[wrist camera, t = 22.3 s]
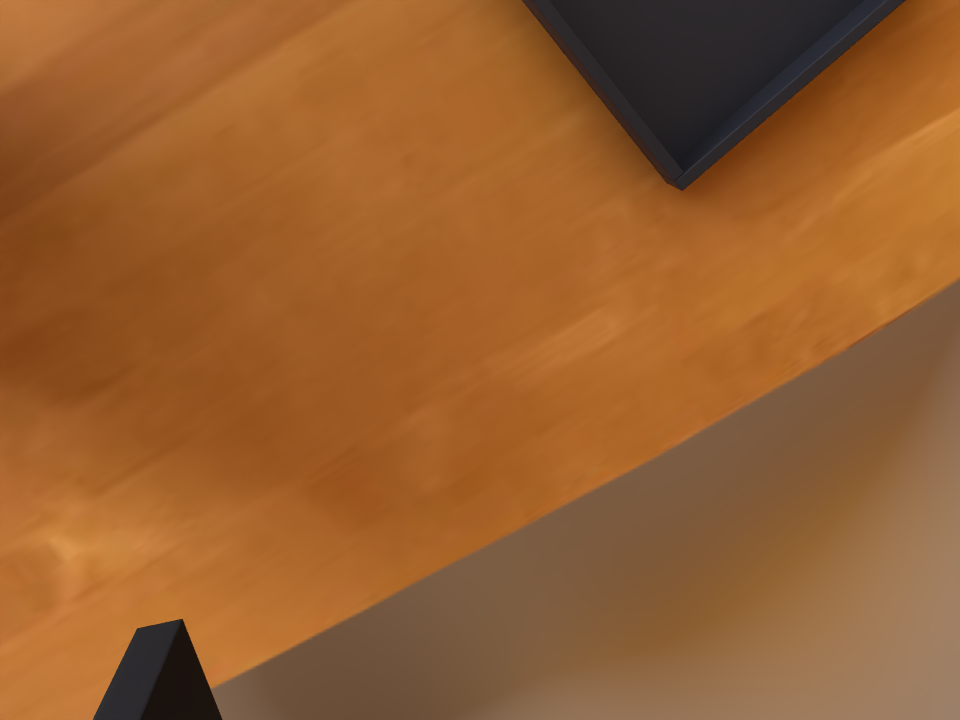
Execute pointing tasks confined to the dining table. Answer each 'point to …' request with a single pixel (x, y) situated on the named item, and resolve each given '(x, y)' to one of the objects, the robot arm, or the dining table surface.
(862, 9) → the baking pan
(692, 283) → the dining table surface
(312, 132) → the dining table surface
